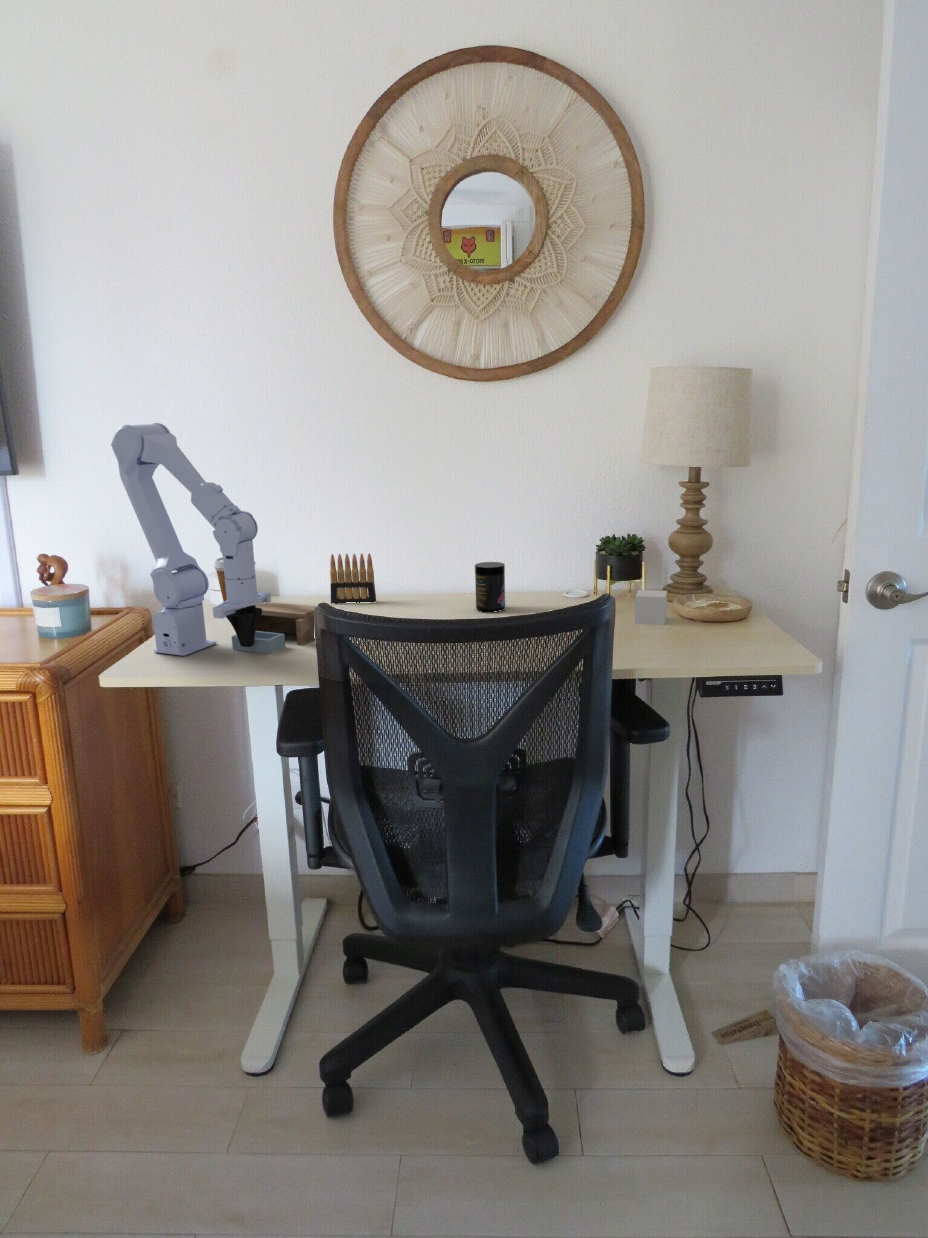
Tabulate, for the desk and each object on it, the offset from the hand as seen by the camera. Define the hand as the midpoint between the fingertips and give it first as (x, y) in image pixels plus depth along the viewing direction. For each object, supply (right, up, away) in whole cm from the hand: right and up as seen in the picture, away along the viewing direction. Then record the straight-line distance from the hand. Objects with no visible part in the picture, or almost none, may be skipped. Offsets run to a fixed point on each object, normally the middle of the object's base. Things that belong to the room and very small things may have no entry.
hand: (246, 645), depth 167 cm
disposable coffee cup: (-11, +7, +37) cm, 39 cm away
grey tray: (+2, -1, +4) cm, 4 cm away
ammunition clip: (+16, +9, +39) cm, 43 cm away
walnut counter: (+5, +1, +11) cm, 12 cm away
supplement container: (+48, +7, +28) cm, 56 cm away
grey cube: (+82, +5, +15) cm, 83 cm away
